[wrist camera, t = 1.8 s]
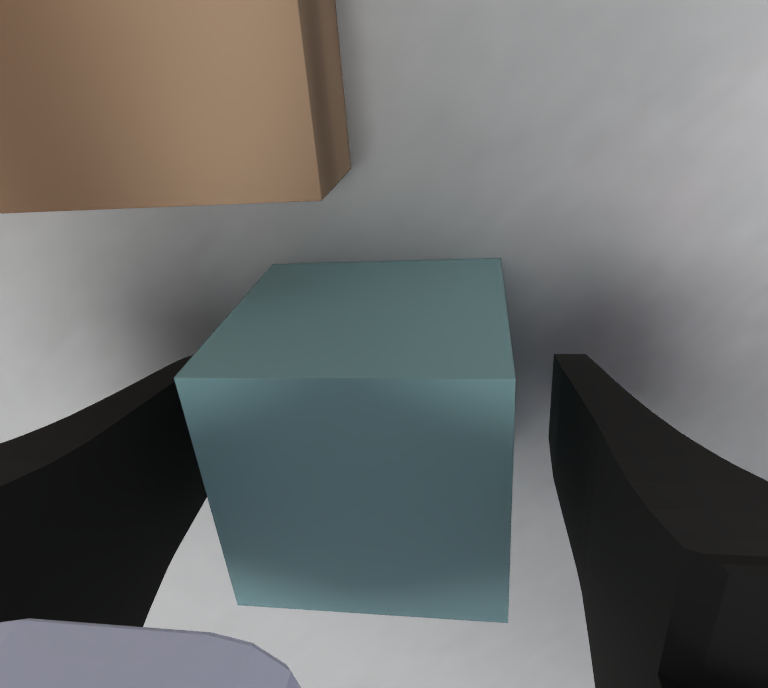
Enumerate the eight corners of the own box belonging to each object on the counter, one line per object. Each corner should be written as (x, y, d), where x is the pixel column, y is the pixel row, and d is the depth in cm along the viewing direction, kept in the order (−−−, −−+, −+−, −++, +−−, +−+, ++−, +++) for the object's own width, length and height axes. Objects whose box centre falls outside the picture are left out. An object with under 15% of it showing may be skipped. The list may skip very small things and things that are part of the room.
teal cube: (500, 257, 12) (515, 379, 8) (497, 446, 15) (508, 622, 10) (273, 263, 13) (173, 377, 9) (304, 442, 15) (237, 605, 11)
